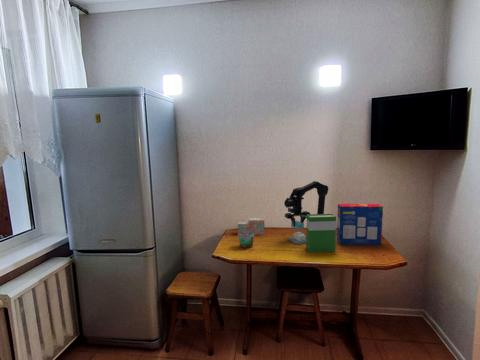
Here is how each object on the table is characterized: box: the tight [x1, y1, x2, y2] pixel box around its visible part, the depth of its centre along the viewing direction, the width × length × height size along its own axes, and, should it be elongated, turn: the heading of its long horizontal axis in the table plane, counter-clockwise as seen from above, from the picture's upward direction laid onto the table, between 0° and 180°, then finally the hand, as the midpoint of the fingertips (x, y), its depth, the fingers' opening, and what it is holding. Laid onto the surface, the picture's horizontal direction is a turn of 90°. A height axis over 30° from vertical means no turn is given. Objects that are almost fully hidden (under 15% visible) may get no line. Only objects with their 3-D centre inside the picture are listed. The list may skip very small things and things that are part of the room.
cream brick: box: [293, 231, 306, 241], centre depth 201 cm, size 5×8×4 cm, turn 19°
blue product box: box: [336, 203, 384, 247], centre depth 193 cm, size 28×8×28 cm, turn 83°
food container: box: [237, 232, 255, 250], centre depth 191 cm, size 12×6×10 cm, turn 68°
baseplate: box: [288, 236, 306, 246], centre depth 201 cm, size 12×12×2 cm
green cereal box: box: [305, 213, 337, 253], centre depth 183 cm, size 18×7×24 cm, turn 90°
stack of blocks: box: [237, 217, 266, 236], centre depth 219 cm, size 21×6×12 cm, turn 88°
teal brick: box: [290, 220, 305, 230], centre depth 202 cm, size 5×8×4 cm, turn 31°
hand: (297, 226), depth 202 cm, fingers closed on teal brick, 6 cm apart
